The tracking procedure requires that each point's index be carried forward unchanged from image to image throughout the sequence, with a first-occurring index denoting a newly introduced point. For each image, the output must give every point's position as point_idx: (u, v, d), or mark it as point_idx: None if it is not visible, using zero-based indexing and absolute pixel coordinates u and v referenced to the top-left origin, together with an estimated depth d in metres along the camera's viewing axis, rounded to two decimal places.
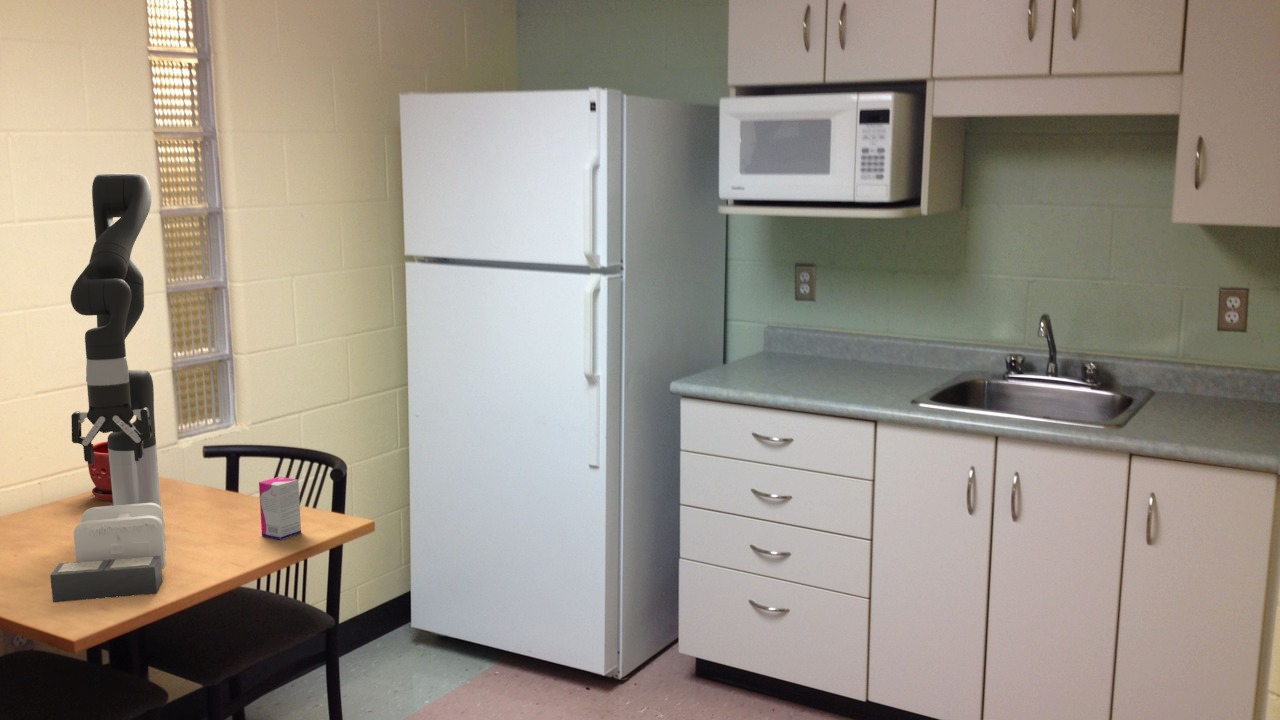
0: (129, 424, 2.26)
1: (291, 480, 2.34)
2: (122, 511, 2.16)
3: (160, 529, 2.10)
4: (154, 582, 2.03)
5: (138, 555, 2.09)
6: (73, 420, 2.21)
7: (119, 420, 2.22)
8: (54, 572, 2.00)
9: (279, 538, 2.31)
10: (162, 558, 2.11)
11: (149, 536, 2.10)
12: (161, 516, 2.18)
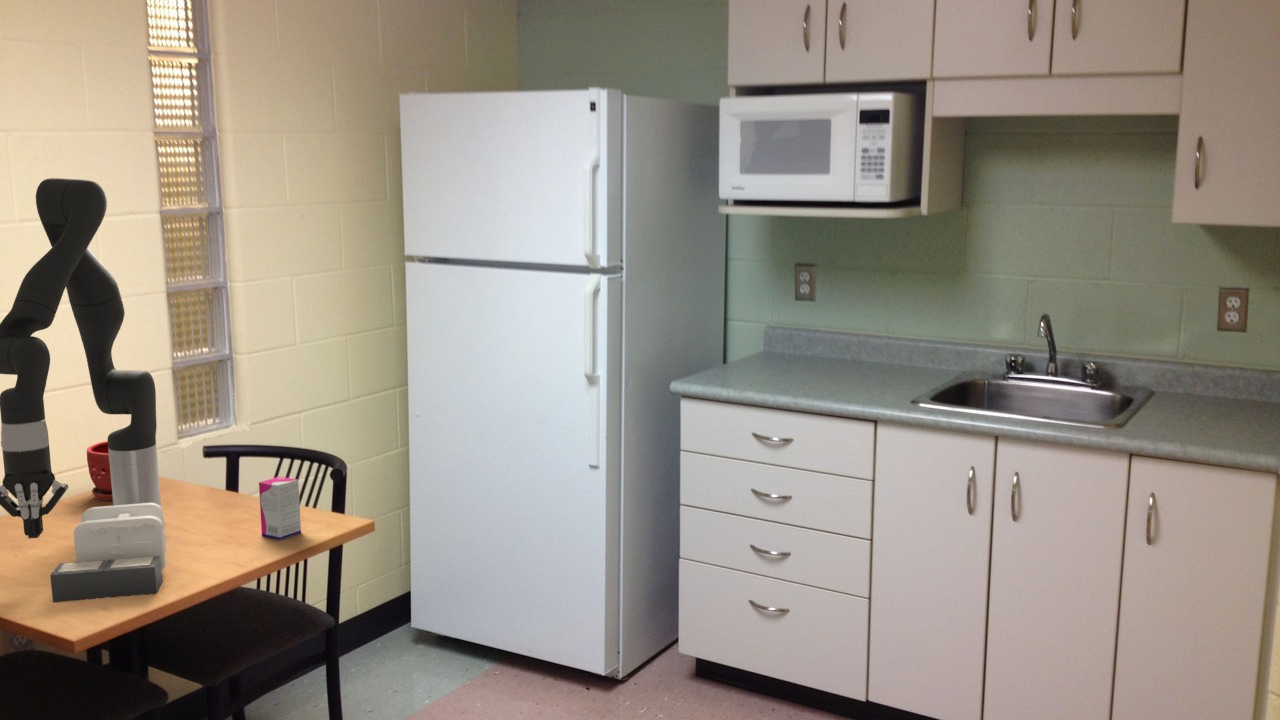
0: None
1: (291, 480, 2.34)
2: (122, 511, 2.16)
3: (160, 529, 2.10)
4: (154, 582, 2.03)
5: (138, 555, 2.09)
6: None
7: (35, 489, 2.06)
8: (54, 572, 2.00)
9: (279, 538, 2.31)
10: (162, 558, 2.11)
11: (149, 537, 2.10)
12: (161, 516, 2.18)
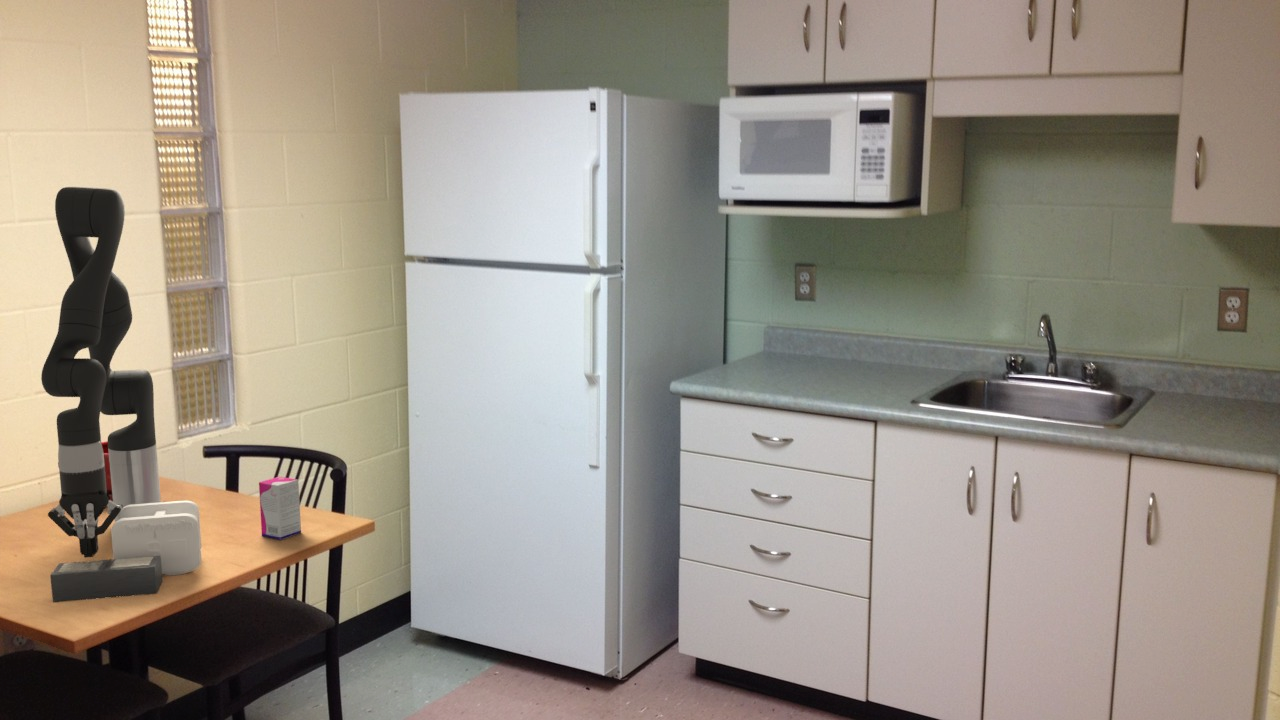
0: None
1: (291, 480, 2.34)
2: (158, 509, 2.17)
3: (196, 527, 2.11)
4: (154, 582, 2.03)
5: (174, 553, 2.10)
6: (53, 518, 2.08)
7: (91, 510, 2.09)
8: (54, 572, 2.00)
9: (279, 538, 2.31)
10: (198, 556, 2.12)
11: (185, 534, 2.11)
12: (197, 514, 2.19)
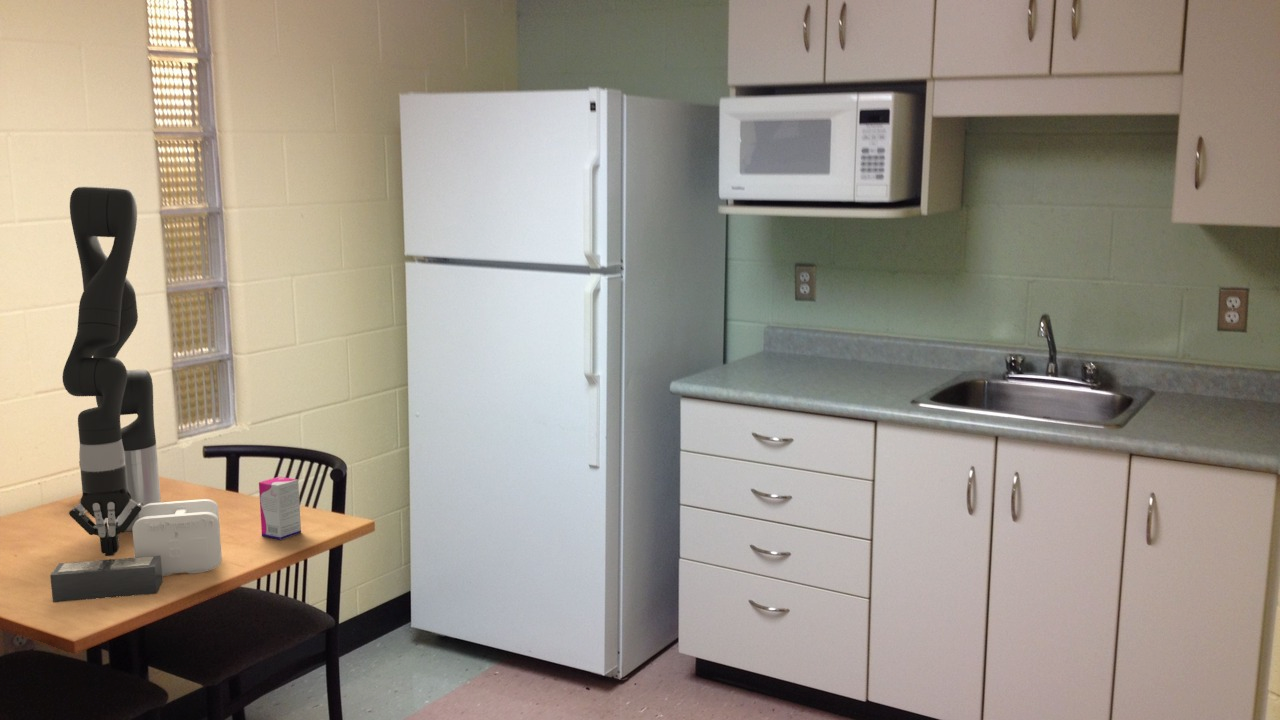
0: None
1: (291, 480, 2.34)
2: (178, 507, 2.17)
3: (217, 525, 2.12)
4: (154, 582, 2.03)
5: (195, 551, 2.11)
6: (75, 517, 2.09)
7: (112, 508, 2.10)
8: (54, 572, 2.00)
9: (279, 538, 2.31)
10: (219, 554, 2.13)
11: (206, 533, 2.11)
12: (217, 512, 2.20)
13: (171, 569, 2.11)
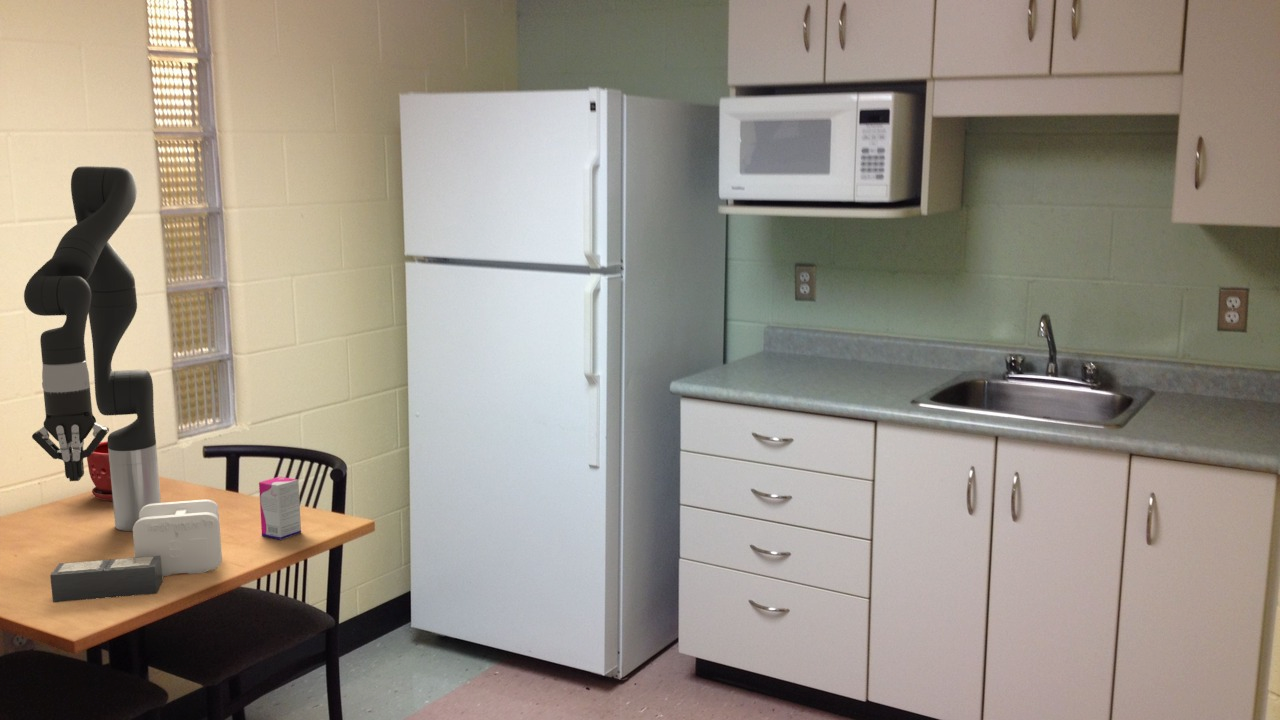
0: None
1: (291, 480, 2.34)
2: (179, 508, 2.17)
3: (217, 526, 2.12)
4: (154, 582, 2.03)
5: (196, 551, 2.11)
6: (38, 440, 2.04)
7: (76, 431, 2.05)
8: (54, 572, 2.00)
9: (279, 538, 2.31)
10: (219, 554, 2.13)
11: (206, 533, 2.11)
12: (217, 513, 2.20)
13: (171, 569, 2.11)
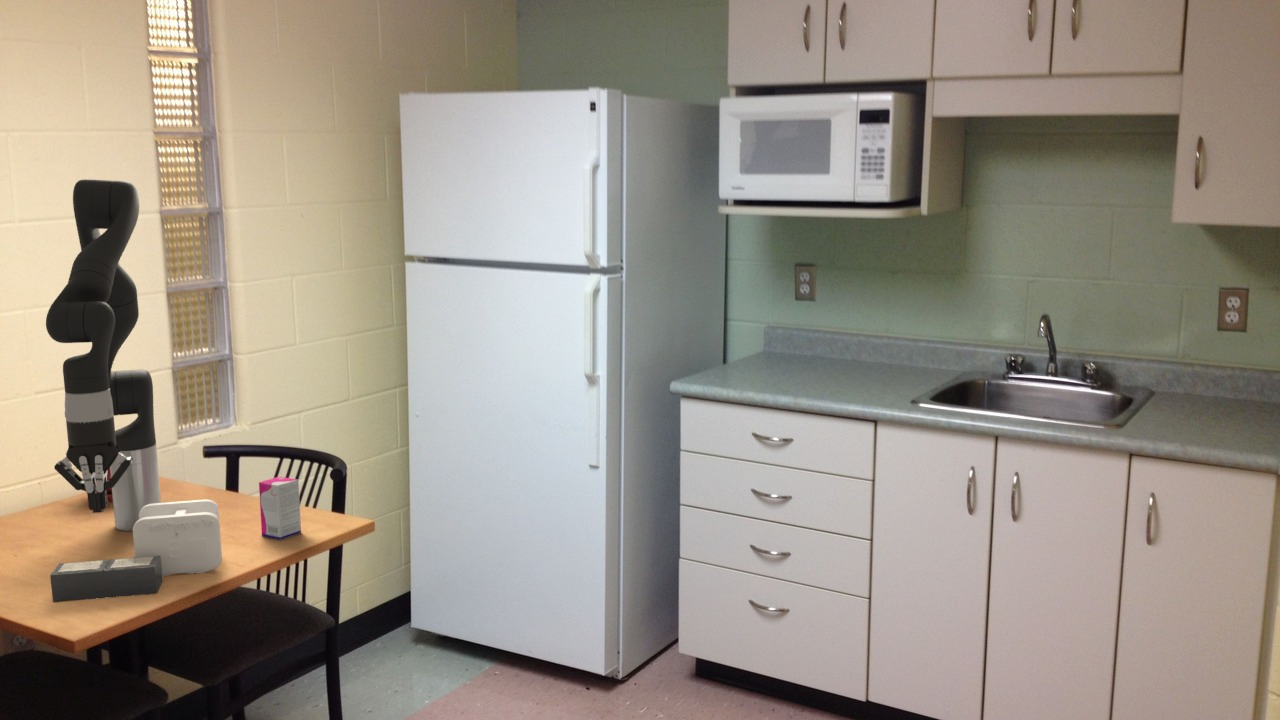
0: None
1: (291, 480, 2.34)
2: (179, 508, 2.17)
3: (217, 526, 2.12)
4: (154, 582, 2.03)
5: (196, 551, 2.11)
6: (60, 471, 1.98)
7: (100, 462, 1.98)
8: (54, 572, 2.00)
9: (279, 538, 2.31)
10: (219, 554, 2.13)
11: (206, 533, 2.11)
12: (217, 513, 2.20)
13: (171, 569, 2.11)
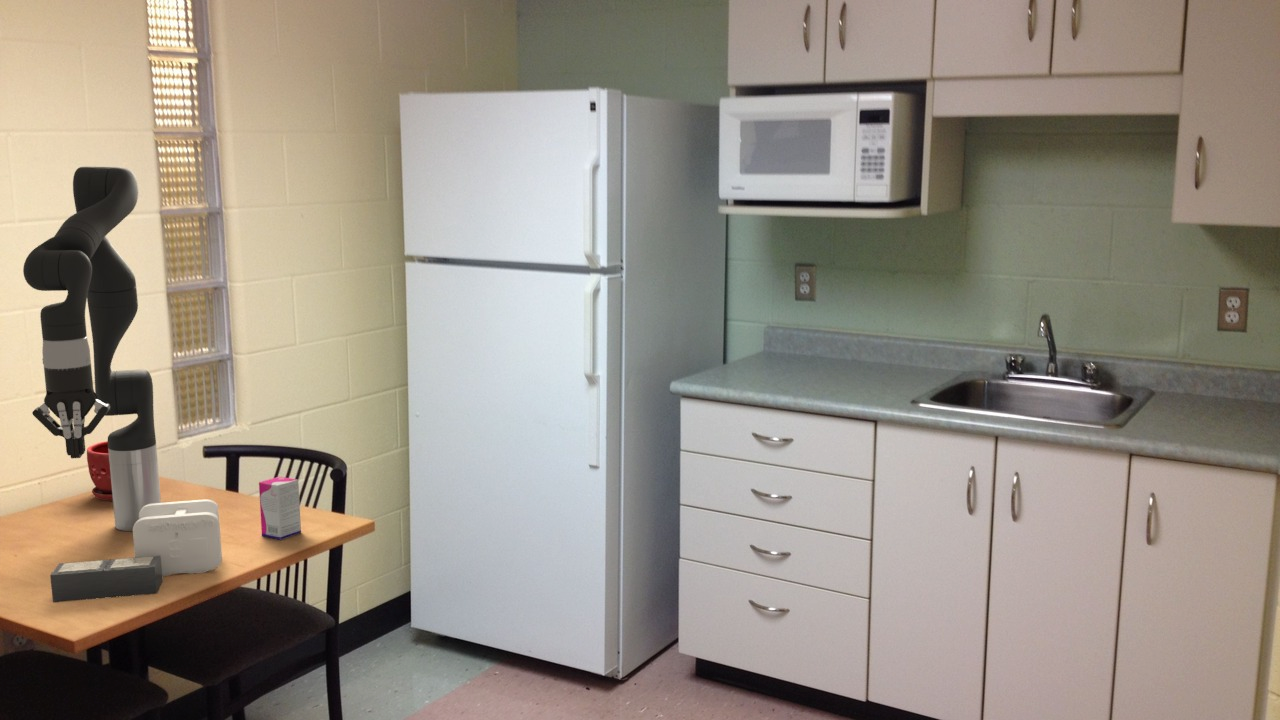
0: None
1: (291, 480, 2.34)
2: (179, 508, 2.17)
3: (217, 526, 2.12)
4: (154, 582, 2.03)
5: (196, 551, 2.11)
6: (38, 417, 2.01)
7: (78, 408, 2.02)
8: (54, 572, 2.00)
9: (279, 538, 2.31)
10: (219, 554, 2.13)
11: (206, 533, 2.11)
12: (217, 513, 2.20)
13: (171, 569, 2.11)
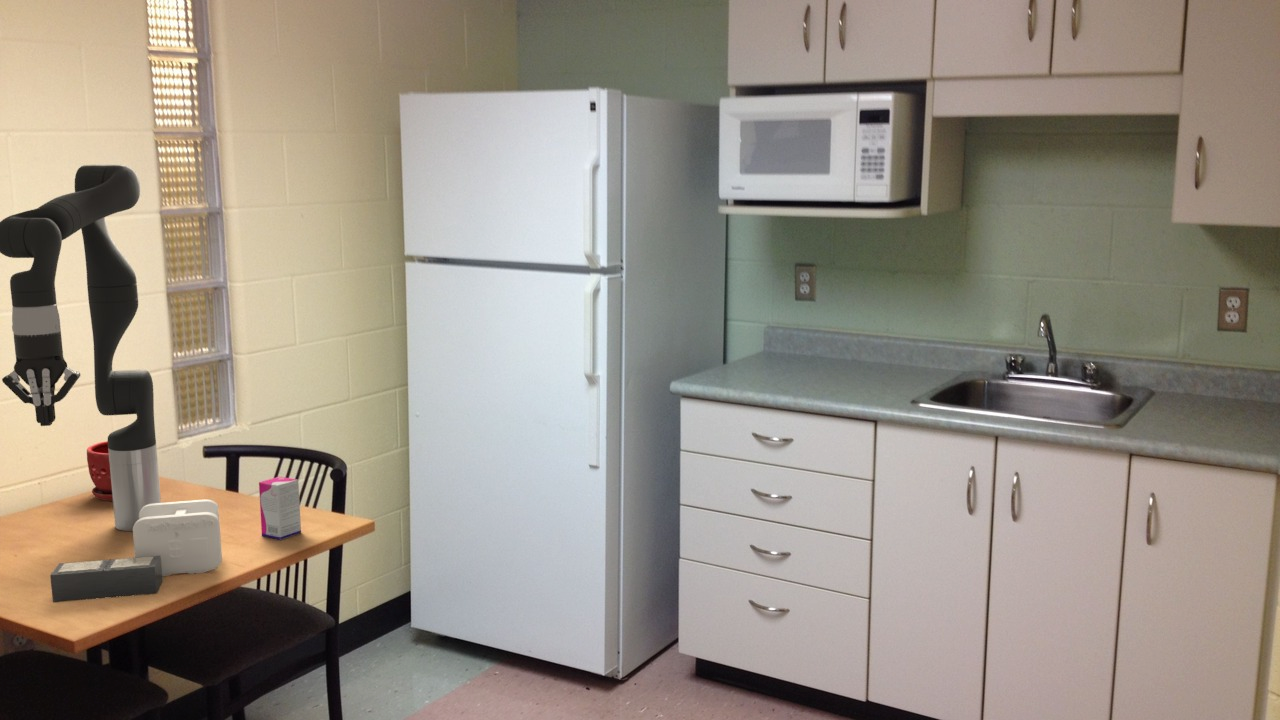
0: None
1: (291, 480, 2.34)
2: (179, 508, 2.18)
3: (217, 525, 2.12)
4: (154, 582, 2.03)
5: (196, 551, 2.11)
6: (8, 384, 2.03)
7: (47, 375, 2.03)
8: (54, 572, 2.00)
9: (279, 538, 2.31)
10: (219, 554, 2.13)
11: (206, 533, 2.11)
12: (217, 513, 2.20)
13: (171, 569, 2.11)
